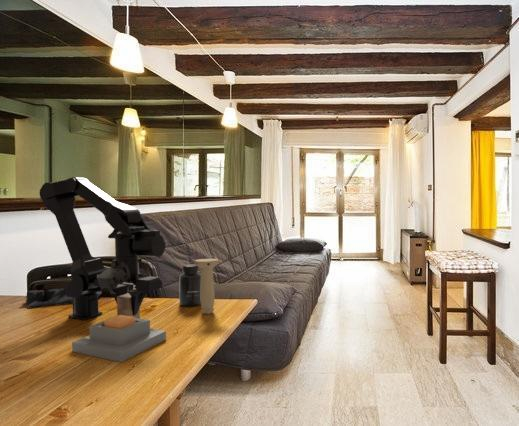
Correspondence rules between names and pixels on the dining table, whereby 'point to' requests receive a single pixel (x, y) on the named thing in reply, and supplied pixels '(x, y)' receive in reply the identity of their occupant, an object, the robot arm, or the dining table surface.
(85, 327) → the dining table surface
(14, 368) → the dining table surface
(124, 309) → the beige rectangular prism
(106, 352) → the grey stepped square base
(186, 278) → the supplement bottle
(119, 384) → the dining table surface
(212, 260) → the handle
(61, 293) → the dark slate chunk
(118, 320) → the button
